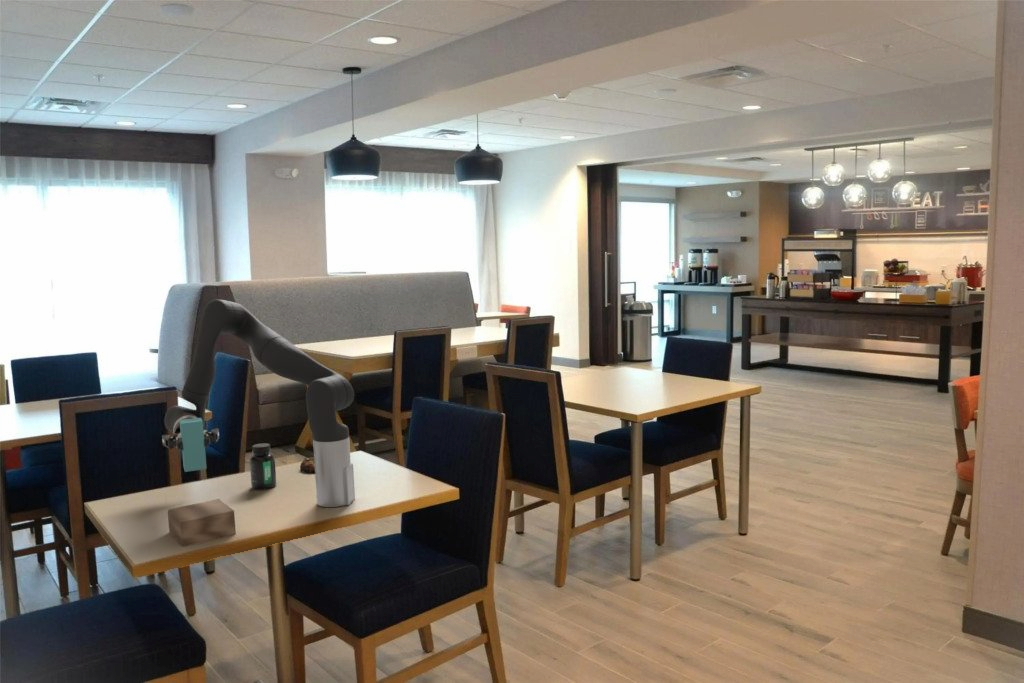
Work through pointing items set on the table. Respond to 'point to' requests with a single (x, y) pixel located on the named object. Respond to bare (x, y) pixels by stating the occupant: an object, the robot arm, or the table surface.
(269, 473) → the supplement bottle
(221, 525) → the walnut block
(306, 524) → the table surface
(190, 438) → the teal post
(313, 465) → the bread roll
